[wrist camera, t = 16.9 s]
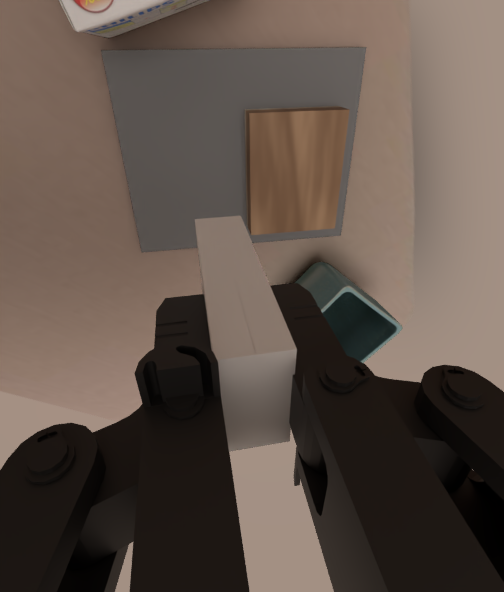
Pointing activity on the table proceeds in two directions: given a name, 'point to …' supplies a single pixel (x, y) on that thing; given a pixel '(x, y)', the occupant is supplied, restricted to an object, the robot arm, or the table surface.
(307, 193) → the walnut tile
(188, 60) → the mat
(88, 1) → the light bulb box
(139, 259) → the table surface
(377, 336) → the flower pot
